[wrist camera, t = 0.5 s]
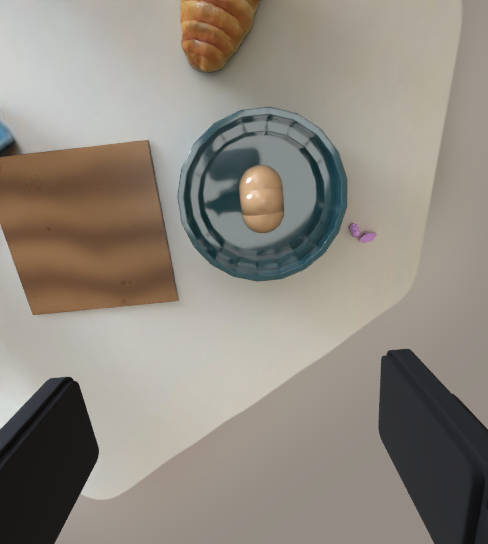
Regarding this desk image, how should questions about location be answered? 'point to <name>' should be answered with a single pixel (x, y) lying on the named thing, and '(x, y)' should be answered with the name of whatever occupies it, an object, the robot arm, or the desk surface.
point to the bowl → (296, 191)
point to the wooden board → (86, 228)
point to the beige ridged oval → (261, 198)
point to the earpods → (356, 233)
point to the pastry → (214, 30)
